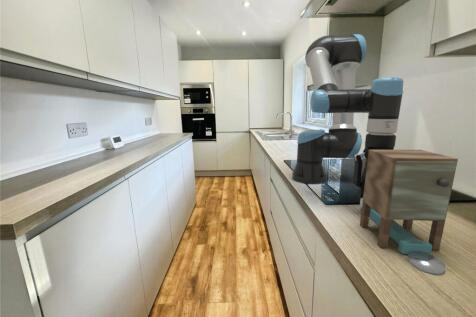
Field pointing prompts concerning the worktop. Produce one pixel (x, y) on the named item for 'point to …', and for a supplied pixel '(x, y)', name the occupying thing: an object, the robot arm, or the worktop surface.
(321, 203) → the worktop surface
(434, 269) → the silver flat disc
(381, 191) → the cabinet
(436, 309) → the worktop surface
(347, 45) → the robot arm
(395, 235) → the teal stepped block
